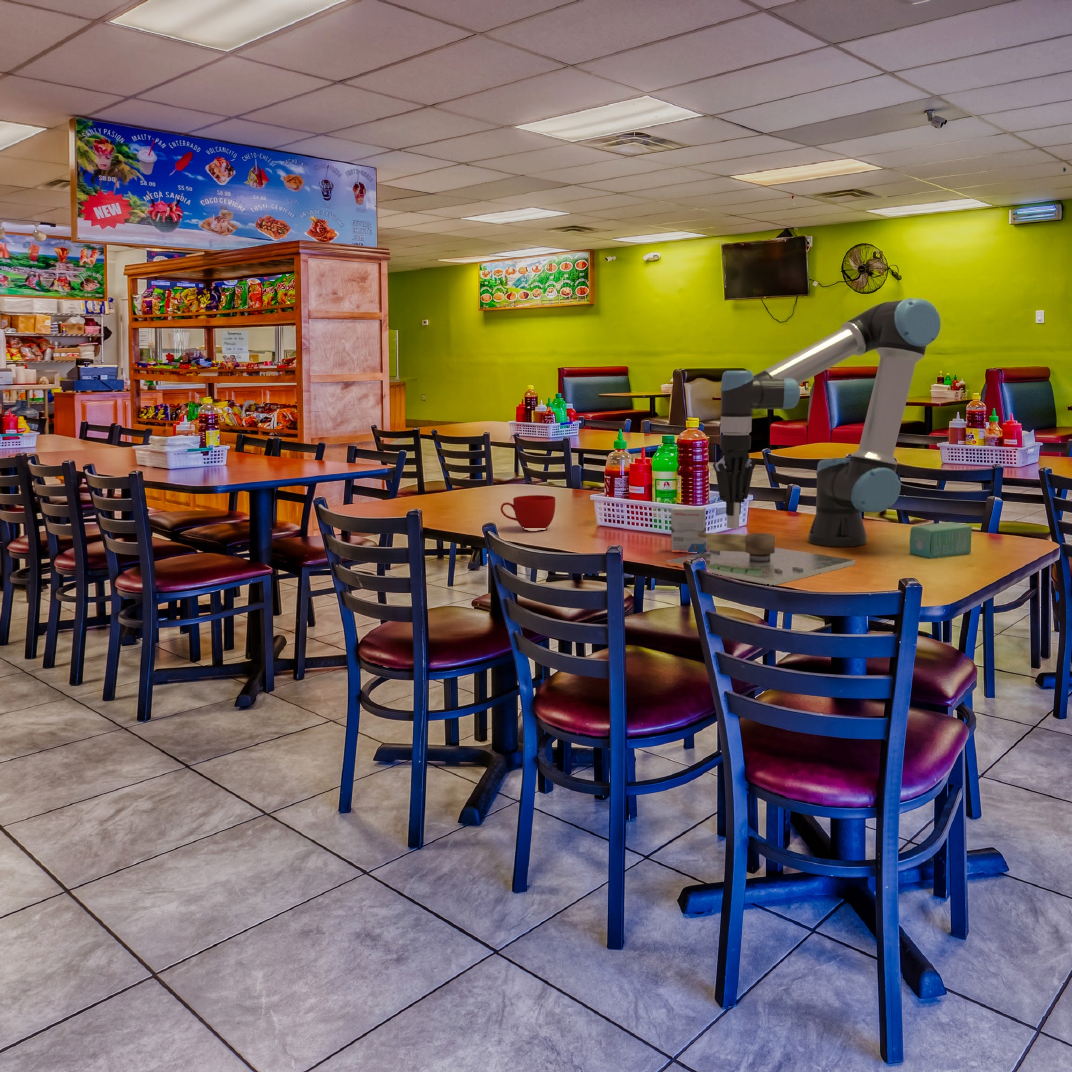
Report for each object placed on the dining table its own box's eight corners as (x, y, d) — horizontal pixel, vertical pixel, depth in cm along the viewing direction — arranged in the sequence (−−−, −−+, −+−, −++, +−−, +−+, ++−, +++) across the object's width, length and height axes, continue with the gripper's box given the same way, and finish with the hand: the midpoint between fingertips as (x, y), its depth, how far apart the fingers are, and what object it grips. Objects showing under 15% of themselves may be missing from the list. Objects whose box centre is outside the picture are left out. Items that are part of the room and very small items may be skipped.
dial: (776, 549, 233) (776, 533, 233) (772, 555, 227) (773, 538, 226) (700, 546, 240) (701, 531, 239) (695, 551, 234) (695, 535, 233)
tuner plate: (748, 547, 254) (748, 536, 254) (854, 564, 230) (855, 552, 229) (666, 565, 234) (666, 553, 234) (772, 585, 210) (773, 572, 209)
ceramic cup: (499, 528, 296) (498, 496, 295) (553, 525, 298) (552, 494, 296) (502, 535, 284) (501, 502, 282) (558, 532, 286) (558, 499, 284)
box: (908, 554, 241) (909, 525, 240) (948, 549, 246) (950, 521, 245) (929, 559, 234) (931, 529, 233) (971, 554, 239) (973, 525, 238)
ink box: (706, 550, 252) (706, 507, 250) (703, 554, 247) (703, 509, 245) (674, 549, 255) (674, 506, 253) (670, 552, 250) (670, 509, 248)
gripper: (742, 432, 240) (740, 523, 244) (705, 434, 233) (703, 528, 237) (765, 433, 234) (762, 527, 238) (727, 435, 227) (725, 532, 231)
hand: (732, 527), depth 237 cm, fingers closed
